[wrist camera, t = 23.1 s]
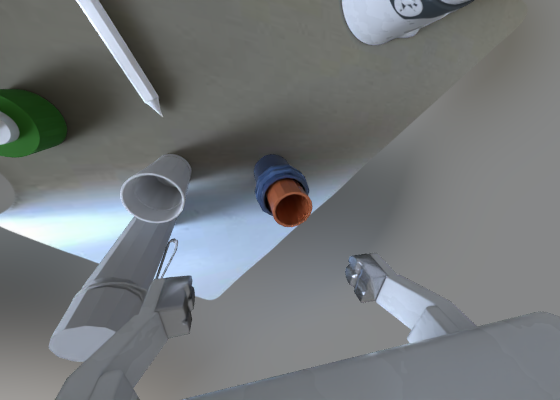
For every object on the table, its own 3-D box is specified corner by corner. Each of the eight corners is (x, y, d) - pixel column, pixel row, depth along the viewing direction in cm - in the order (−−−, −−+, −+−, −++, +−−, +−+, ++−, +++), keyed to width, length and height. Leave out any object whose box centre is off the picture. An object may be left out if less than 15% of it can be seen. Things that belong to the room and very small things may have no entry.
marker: (165, 117, 35) (85, -5, 26) (173, 113, 34) (94, -14, 25) (154, 122, 33) (64, -7, 24) (162, 118, 32) (73, -17, 24)
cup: (193, 150, 38) (181, 173, 28) (197, 188, 41) (187, 221, 31) (145, 148, 36) (112, 172, 26) (154, 189, 40) (128, 224, 29)
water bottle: (130, 219, 41) (26, 358, 20) (152, 192, 40) (64, 312, 18) (172, 239, 46) (124, 371, 24) (193, 216, 44) (161, 335, 23)
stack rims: (272, 154, 33) (275, 159, 31) (313, 179, 37) (318, 185, 35) (245, 197, 36) (246, 204, 33) (287, 216, 40) (290, 223, 37)
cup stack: (266, 147, 40) (278, 166, 30) (296, 165, 44) (316, 189, 34) (246, 178, 43) (252, 207, 33) (276, 193, 46) (290, 224, 36)
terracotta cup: (274, 162, 36) (288, 184, 27) (299, 177, 39) (319, 202, 30) (256, 188, 38) (265, 218, 29) (282, 201, 40) (296, 232, 32)
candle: (-18, 119, 29) (-119, 131, 21) (9, 75, 28) (-87, 69, 19) (50, 157, 33) (-10, 181, 25) (78, 121, 32) (23, 133, 23)
